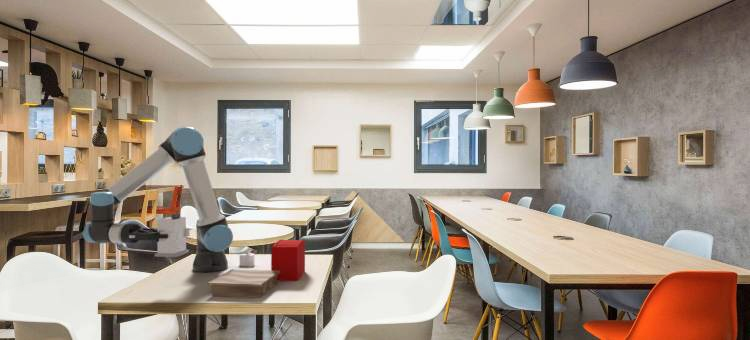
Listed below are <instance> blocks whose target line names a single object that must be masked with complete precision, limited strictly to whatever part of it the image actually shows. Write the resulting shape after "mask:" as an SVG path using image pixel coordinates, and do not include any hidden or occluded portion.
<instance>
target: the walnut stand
mask: <svg viewBox="0 0 750 340" xmlns="http://www.w3.org/2000/svg"><path fill="white" fill-rule="evenodd" d="M279 273H280V271H276V270H271V269H270V270H269V269H239V268H237V269H234V268H233V269H231V270H228V271H227V272H225V273H223V274H221V275H219V276H218V277H216V278H213V279H212V280H210V281H208V282H207V285H208V286H211V296H212V297H231V298H232V297H233V298H235V297H236V298H238V297H239V298H261V297H262V296H263V295H264V294H266V293H267V292H268V291H270V290H271V289H272V288H273V287H274V286H276V285H277V284H278V281H277V274H279Z"/></svg>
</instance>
